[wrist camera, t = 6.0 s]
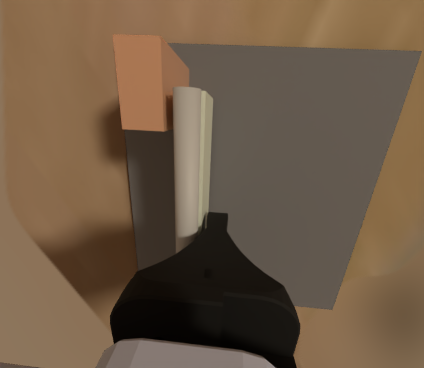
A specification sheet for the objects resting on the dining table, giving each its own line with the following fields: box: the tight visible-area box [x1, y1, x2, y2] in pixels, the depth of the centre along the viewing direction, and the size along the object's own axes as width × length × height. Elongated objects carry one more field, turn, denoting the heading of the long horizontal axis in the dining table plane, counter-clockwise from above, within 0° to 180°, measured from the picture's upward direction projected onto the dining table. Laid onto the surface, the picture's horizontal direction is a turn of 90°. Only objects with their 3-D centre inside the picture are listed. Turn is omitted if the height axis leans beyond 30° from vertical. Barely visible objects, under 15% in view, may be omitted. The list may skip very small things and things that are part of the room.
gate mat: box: [124, 43, 422, 310], centre depth 14 cm, size 18×16×1 cm
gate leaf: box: [173, 87, 213, 253], centre depth 11 cm, size 12×1×5 cm, turn 178°
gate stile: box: [113, 34, 189, 132], centre depth 9 cm, size 3×2×5 cm, turn 177°
